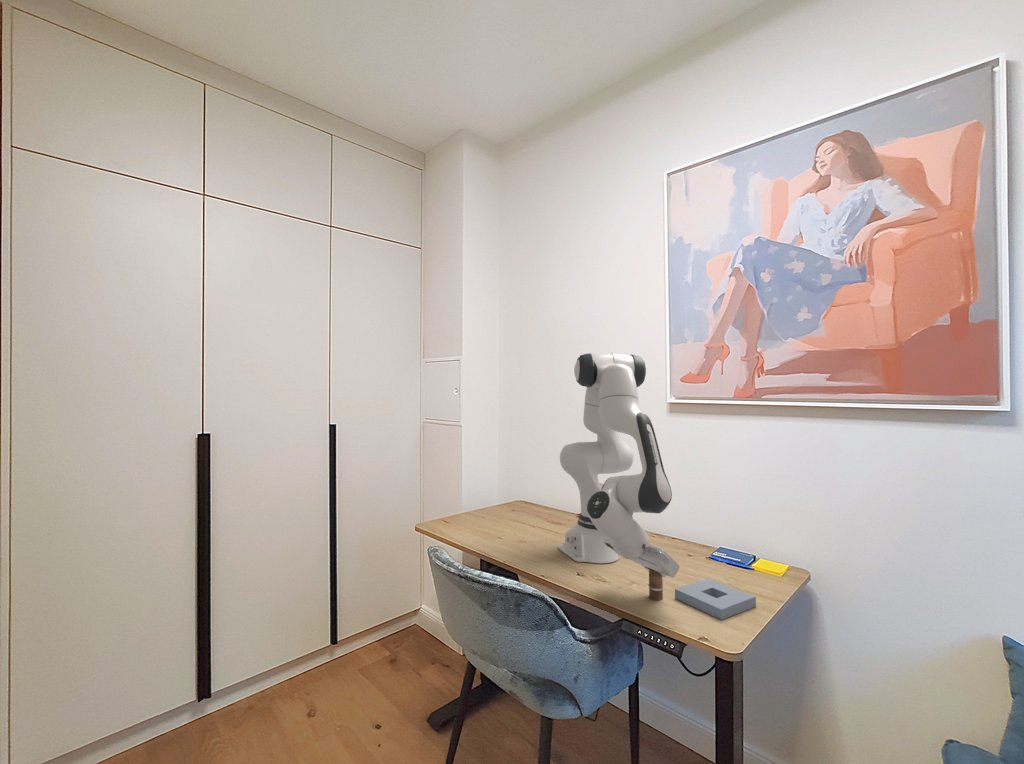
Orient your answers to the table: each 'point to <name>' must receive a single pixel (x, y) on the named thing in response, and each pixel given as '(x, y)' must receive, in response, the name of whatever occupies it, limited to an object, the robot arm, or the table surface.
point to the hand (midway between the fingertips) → (657, 571)
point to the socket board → (715, 598)
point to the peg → (655, 585)
